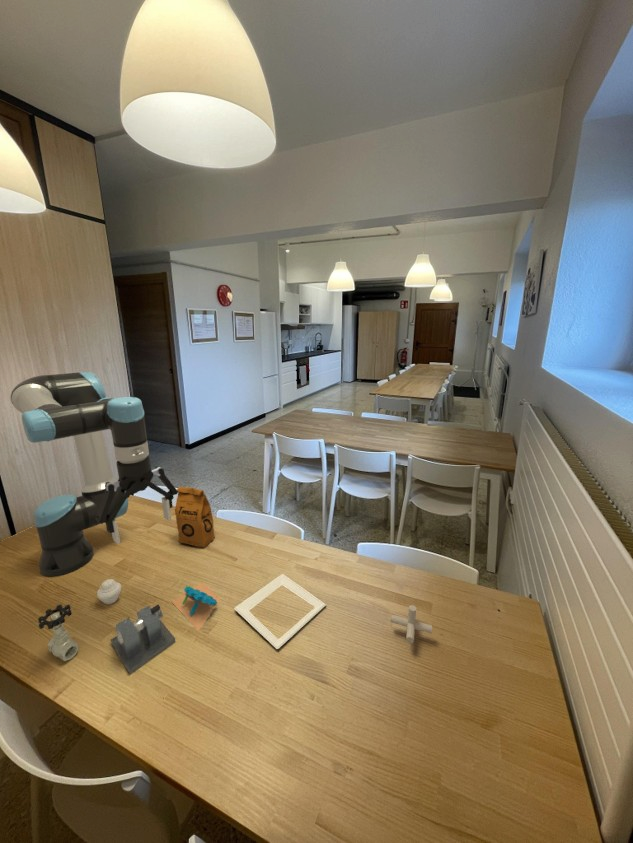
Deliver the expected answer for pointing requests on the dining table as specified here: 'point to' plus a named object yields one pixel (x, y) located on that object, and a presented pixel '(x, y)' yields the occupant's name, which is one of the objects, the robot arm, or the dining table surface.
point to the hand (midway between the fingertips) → (143, 529)
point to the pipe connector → (411, 624)
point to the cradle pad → (201, 610)
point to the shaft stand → (141, 638)
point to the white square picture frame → (267, 590)
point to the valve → (59, 633)
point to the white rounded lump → (109, 591)
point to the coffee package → (194, 517)
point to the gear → (197, 598)
